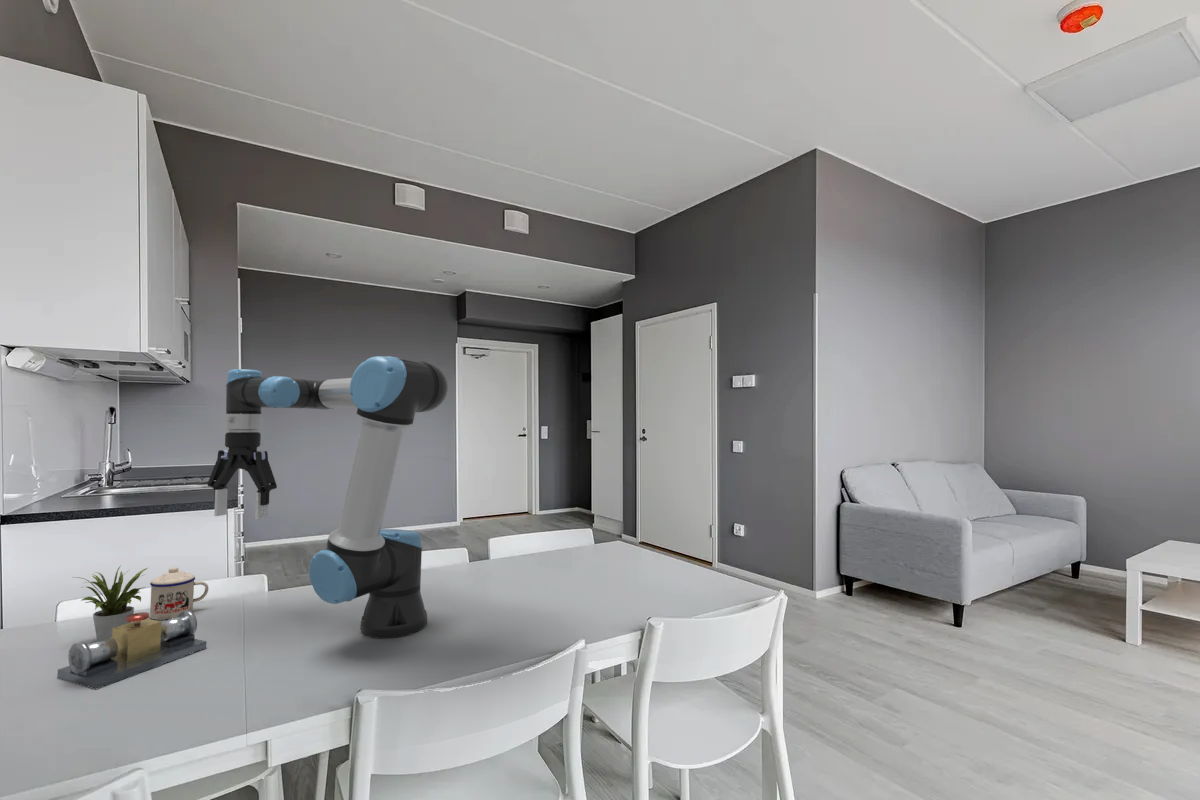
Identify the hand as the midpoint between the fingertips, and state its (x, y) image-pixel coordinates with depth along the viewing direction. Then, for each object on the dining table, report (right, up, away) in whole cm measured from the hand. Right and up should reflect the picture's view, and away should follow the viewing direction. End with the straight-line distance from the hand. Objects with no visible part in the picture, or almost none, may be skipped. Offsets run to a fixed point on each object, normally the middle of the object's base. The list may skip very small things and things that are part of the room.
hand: (240, 517), depth 140 cm
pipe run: (-5, -24, -26) cm, 36 cm away
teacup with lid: (-17, -25, +3) cm, 31 cm away
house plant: (-20, -25, -15) cm, 35 cm away
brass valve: (-5, -23, -26) cm, 35 cm away
